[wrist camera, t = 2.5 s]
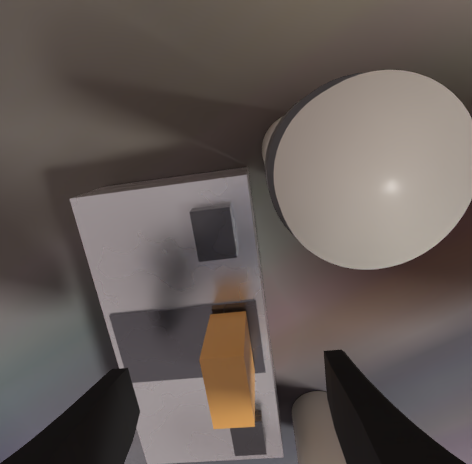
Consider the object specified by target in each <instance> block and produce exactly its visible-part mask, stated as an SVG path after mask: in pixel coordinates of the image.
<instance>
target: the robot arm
mask: <svg viewBox="0 0 472 464" xmlns="http://www.w3.org/2000/svg"><path fill="white" fill-rule="evenodd" d="M324 361H325V374H326V388H327V399H328V403H329V408H330V412H331V416H332V420H333V425H334V429H335V432H336V434H337V437H338V440H339V443H340V446H341V449H342V452H343V455H344V458H345V461H346V464H466V463H464V462H463V461H462V460H460V459H459V458H457V457H456V456H454V455H453V454H451V453H450V452H449V451H447V450H446V449H445V448H444V447H442V446H441V445H440V444H438V443H437V442H436V441H434V440H433V439H432V438H431V437H429V436H428V435H427V434H426V433H425V432H423V431H422V430H421V429H420V428H418V427H417V426H416V425H415V424H414V423H413V422H411V421H410V420H409V419H408V418H407V417H406V416H405V415H404V414H403V413H401V412H400V411H399V410H398V409H397V408H396V407H395V406H394V405H393V404H392V403H391V402H390V401H389V400H388V399H387V398H386V397H385V396H384V395H383V394H382V393H381V392H380V391H379V390H378V389H377V388H376V387H375V386H374V385H373V384H372V383H371V382H370V381H369V380H368V379H367V378H366V377H365V376H364V374H363V373H362V372H361V371H360V370H359V369H358V368H357V367H356V365H355V364H354V363H353V362H352V361H351V359H350V358H349V357H348V356H347V355H346V353H345V352H344V351H342V350H332V351H324ZM139 415H140V409H139V405H138V402H137V398H136V395H135V391H134V388H133V384H132V381H131V377H130V374H129V370H128V368H120V369H112V370H111V371H109V372H108V373H107V374H106V375H105V376H104V377H102V378H101V379H100V380H99V381H98V382H97V383H96V384H95V385H94V386H92V387H91V388H90V389H89V390H88V391H87V392H86V393H85V394H84V395H83V396H82V397H80V398H79V399H78V400H77V401H76V402H75V403H74V404H73V405H72V406H70V407H69V408H68V409H67V410H66V411H65V412H64V413H63V414H61V415H60V416H59V417H58V418H57V419H56V420H54V421H53V422H52V423H51V424H50V425H48V426H47V427H46V428H45V429H44V430H43V431H41V432H40V433H39V434H38V435H37V436H35V437H34V438H33V439H32V440H31V441H29V442H28V443H27V444H25V445H24V446H23V447H22V448H20V449H19V450H18V451H16V452H15V453H14V454H12V455H11V456H10V457H8V458H7V459H6V460H4V461H3V462H2V463H0V464H124V462H125V459H126V457H127V454H128V452H129V449H130V446H131V444H132V441H133V437H134V434H135V430H136V427H137V423H138V419H139Z"/></svg>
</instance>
